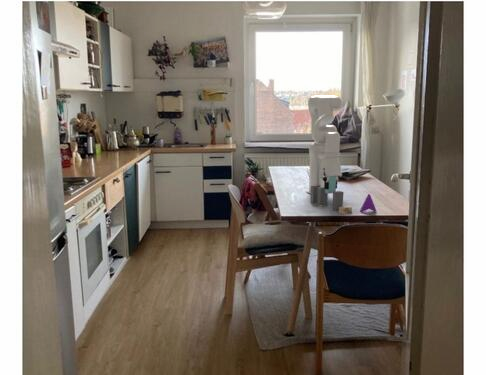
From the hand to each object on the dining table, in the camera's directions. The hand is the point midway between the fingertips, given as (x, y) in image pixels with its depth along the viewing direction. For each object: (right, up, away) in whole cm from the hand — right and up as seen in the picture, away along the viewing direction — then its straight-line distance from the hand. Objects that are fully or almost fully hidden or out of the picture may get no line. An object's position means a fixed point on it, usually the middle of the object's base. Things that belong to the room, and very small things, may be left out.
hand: (330, 188), depth 240 cm
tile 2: (-3, -9, +8) cm, 13 cm away
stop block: (+6, -13, -9) cm, 16 cm away
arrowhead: (+19, -13, -7) cm, 23 cm away
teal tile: (0, -2, 0) cm, 2 cm away
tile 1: (-6, -8, +14) cm, 17 cm away
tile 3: (+3, -12, -3) cm, 12 cm away
